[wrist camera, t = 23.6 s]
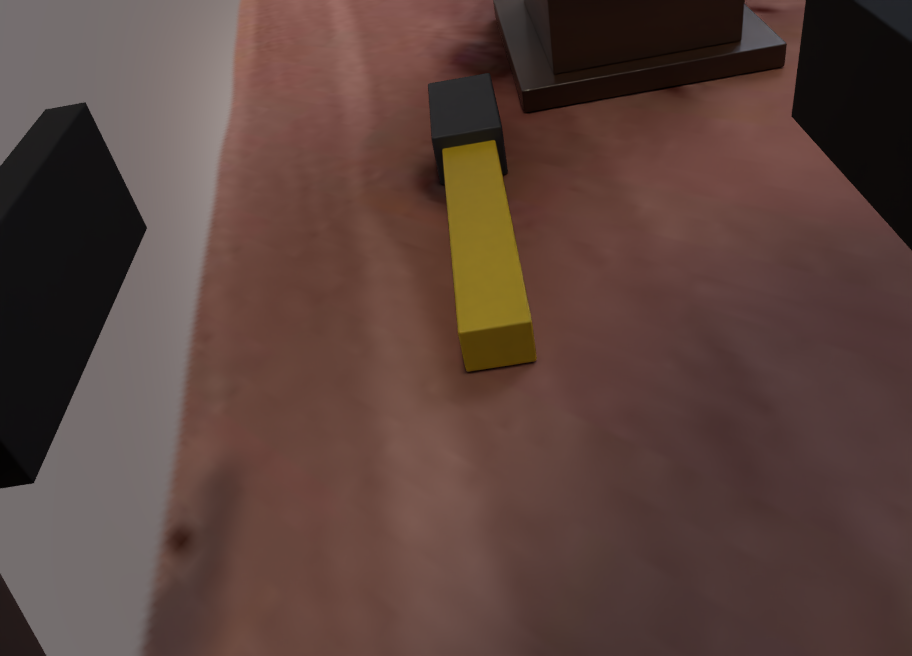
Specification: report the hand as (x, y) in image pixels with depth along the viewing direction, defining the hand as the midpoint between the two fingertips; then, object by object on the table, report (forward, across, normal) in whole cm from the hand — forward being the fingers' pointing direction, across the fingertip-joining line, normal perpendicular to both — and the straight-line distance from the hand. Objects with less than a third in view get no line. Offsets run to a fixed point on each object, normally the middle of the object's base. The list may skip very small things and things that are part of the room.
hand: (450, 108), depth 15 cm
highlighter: (+10, 0, -9) cm, 13 cm away
